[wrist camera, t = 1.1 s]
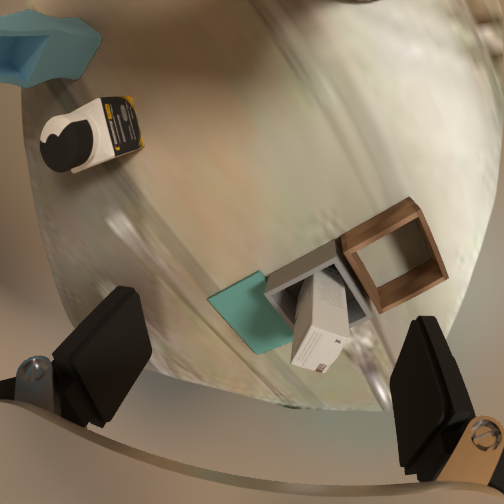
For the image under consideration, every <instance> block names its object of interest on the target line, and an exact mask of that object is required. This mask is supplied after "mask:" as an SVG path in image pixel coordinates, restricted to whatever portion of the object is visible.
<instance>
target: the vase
mask: <svg viewBox="0 0 504 504" xmlns="http://www.w3.org/2000/svg"><path fill="white" fill-rule="evenodd" d="M101 42H102V36H101V34H100V33H99V32H98V31H96V30H95V29H93V28H92V27H91V26H89V25H88V24H86V23H85V22H83V21H82V20H80V19H79V18H77V17H70V18H55V17H50V16H47V15H44V14H41V13H39V12H36V11H33V10H28V9H27V10H24V11H20V12H17V13H14V14H10V15H5V16H0V83H9V84H13V85H17V86H20V87H23V88H31V87H33V86H35V85H37V84H39V83H42V82H44V81H47V80H50V79H54V78H67V79H72V80H77V79H79V78H80V77H81V75H82V74H83V72H84V70H85V69H86V67H87V65H88V63H89V62H90V60H91V58H92V57H93V55H94V54H95V52H96V50H97V49H98V47H99V46H100V44H101Z"/></svg>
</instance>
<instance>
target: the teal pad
mask: <svg viewBox="0 0 504 504" xmlns="http://www.w3.org/2000/svg"><path fill="white" fill-rule="evenodd" d="M267 281H268V280H267V279H266V278H265V276H264V275H263V274H262V272H261V271H260V270H259V271H257V272H255V273H253V274H251V275H249V276H248V277H246V278H244V279H242V280H240V281H238V282H237V283H235V284H233V285H231V286H229V287H227V288H226V289H224V290H222V291H220V292H218V293H216V294H214V295H213V296H211V297H209V298H208V301H209V302H210V303H211V304H212V305H213V306H214V307H215V309H216V310H217V311H218V312H219V313H220V314H221V315H222V317H223V318H224V319H225V320H226V321H227V322H228V323H229V325H230V326H231V327H232V328H233V329H234V330H235V331H236V332H237V333H238V335H239V336H240V337H241V338H242V339H243V340H244V341H245V342H246V343H247V344H248V346H249V347H250V348H251V349H252V350H253V351H254V352H255V353H256V354H257V355H258V354H261V353H264V352H266V351H269V350H272V349H274V348H277V347H279V346H282V345H284V344H287V343H289V342H292V341H293V334H294V332H293V330H292V329H291V328H290V327H289V325H288V324H287V323H286V322H285V320H284V319H283V318H282V317H281V315H280V314H279V313H278V312H277V310H276V309H275V308H274V307H273V305H272V304H271V303H270V302H269V300H268V299H267V298H266V297H265V295H264V291H265V287H266V284H267Z"/></svg>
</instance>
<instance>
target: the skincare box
mask: <svg viewBox="0 0 504 504" xmlns="http://www.w3.org/2000/svg"><path fill="white" fill-rule="evenodd" d="M349 338H350V333H349V322H348V312H347V303H346V293H345V285H344V279H343V277H342V275H341V274H340V272H339V271H338V270H335V269H333V268H330V267H326V268H324V269H322V270H320V271H318V272H316V273H314V274H312V275H311V276H309V277H307V278H305V280H304V282H303V284H302V287H301V289H300V291H299V294H298V297H297V305H296V315H295V324H294V334H293V343H292V354H291V362H290V364H292V365H295V366H299V367H302V368H306V369H309V370H313V371H317V372H321V373H325V372H326V371H327V370H328V368H329V367H330V365H331V364H332V363H333V362H334V361H335V360H336V359H337V357H338V356H339V354H340V351H341V350H342V348H343V347H344V345H345V344H346V342H347V341H348V339H349Z"/></svg>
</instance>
